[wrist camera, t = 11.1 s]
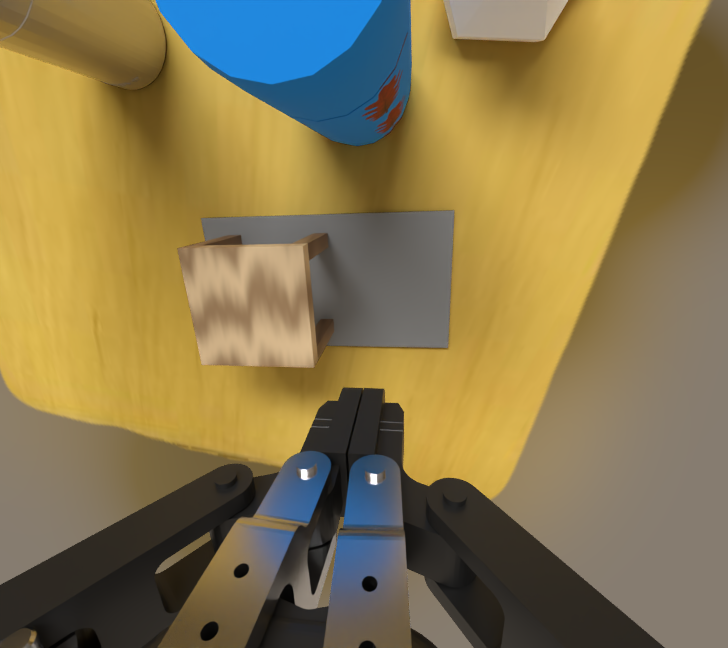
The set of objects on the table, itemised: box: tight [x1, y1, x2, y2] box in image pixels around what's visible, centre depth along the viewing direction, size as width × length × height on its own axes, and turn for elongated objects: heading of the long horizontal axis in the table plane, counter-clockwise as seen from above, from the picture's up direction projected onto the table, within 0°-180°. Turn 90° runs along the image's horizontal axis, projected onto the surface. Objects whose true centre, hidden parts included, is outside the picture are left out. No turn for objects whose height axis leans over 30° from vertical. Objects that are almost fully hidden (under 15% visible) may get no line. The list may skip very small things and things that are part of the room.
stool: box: [177, 233, 334, 368], centre depth 40 cm, size 12×10×12 cm
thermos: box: [156, 0, 412, 146], centre depth 25 cm, size 11×11×25 cm
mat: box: [201, 210, 454, 348], centre depth 44 cm, size 16×29×1 cm, turn 92°
